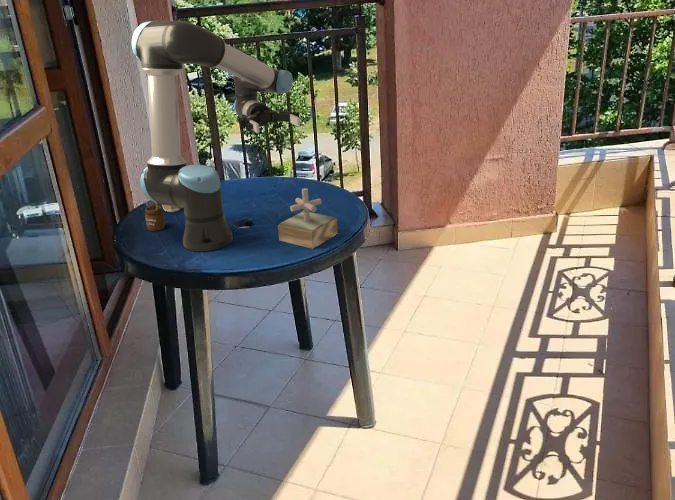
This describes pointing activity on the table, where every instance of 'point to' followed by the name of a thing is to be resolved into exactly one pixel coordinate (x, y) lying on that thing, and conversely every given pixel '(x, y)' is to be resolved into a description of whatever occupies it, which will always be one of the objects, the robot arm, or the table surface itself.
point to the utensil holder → (154, 217)
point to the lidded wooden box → (307, 230)
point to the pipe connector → (305, 204)
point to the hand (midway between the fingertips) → (278, 125)
